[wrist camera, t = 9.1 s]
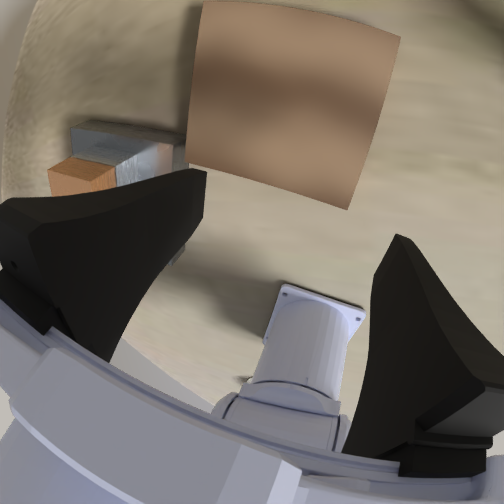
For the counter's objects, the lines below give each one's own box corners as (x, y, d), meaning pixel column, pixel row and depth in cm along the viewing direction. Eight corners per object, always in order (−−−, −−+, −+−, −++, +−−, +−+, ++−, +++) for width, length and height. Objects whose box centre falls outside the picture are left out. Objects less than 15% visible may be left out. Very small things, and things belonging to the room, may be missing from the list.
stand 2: (348, 193, 19) (347, 210, 17) (201, 150, 21) (184, 161, 19) (394, 41, 12) (400, 37, 10) (221, 6, 14) (203, 1, 12)
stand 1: (185, 249, 27) (171, 265, 25) (99, 217, 29) (84, 229, 27) (190, 135, 20) (172, 145, 18) (90, 120, 22) (70, 128, 20)
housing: (142, 239, 25) (108, 274, 21) (102, 224, 26) (67, 254, 22) (137, 154, 20) (90, 181, 16) (92, 145, 20) (47, 169, 17)
